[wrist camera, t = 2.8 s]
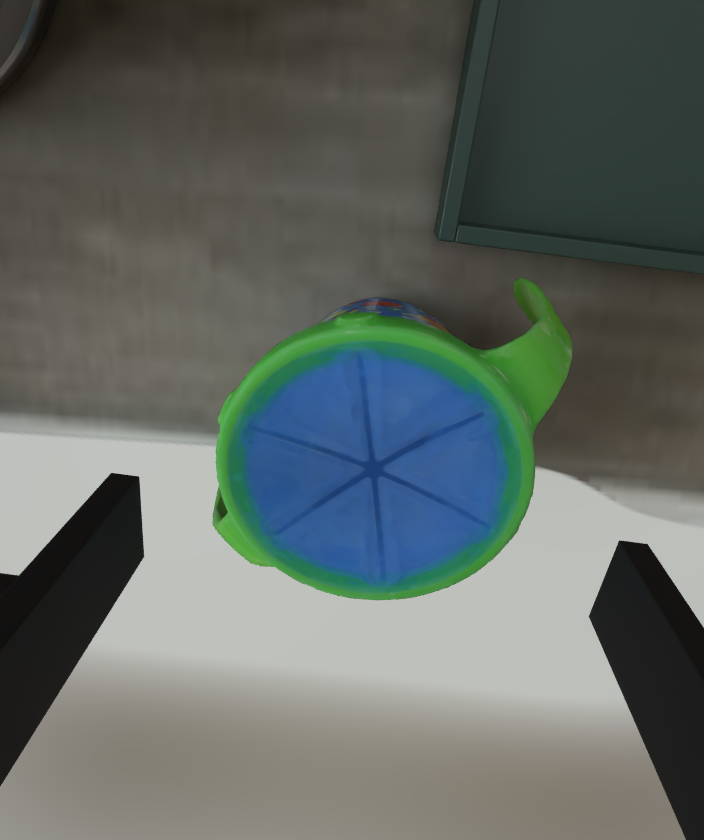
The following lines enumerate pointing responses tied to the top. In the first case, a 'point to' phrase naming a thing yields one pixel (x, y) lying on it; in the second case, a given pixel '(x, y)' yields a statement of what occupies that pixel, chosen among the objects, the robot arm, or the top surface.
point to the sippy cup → (386, 448)
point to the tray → (581, 132)
